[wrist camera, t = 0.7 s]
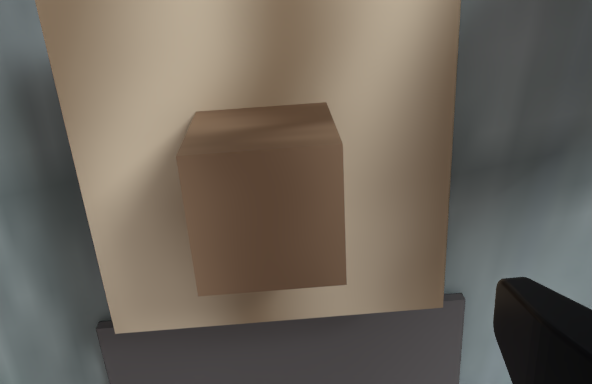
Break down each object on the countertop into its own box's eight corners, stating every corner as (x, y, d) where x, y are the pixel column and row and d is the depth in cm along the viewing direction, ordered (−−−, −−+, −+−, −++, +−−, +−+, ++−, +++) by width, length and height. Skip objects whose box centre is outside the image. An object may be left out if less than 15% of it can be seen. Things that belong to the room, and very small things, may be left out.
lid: (456, -49, 16) (526, -50, 12) (438, 297, 21) (482, 386, 16) (38, -21, 16) (-47, -12, 11) (119, 323, 20) (80, 420, 16)
